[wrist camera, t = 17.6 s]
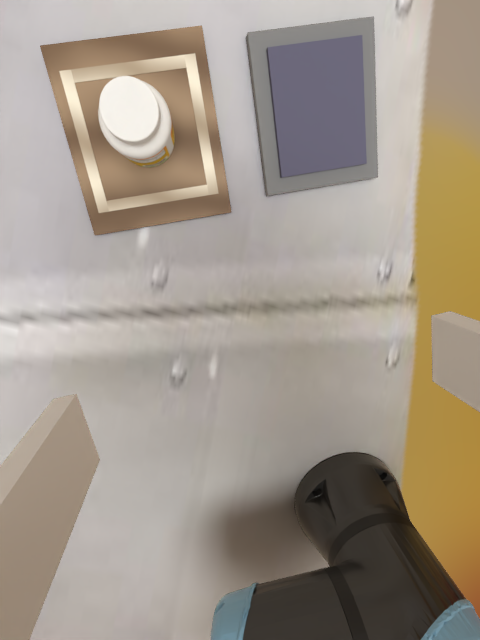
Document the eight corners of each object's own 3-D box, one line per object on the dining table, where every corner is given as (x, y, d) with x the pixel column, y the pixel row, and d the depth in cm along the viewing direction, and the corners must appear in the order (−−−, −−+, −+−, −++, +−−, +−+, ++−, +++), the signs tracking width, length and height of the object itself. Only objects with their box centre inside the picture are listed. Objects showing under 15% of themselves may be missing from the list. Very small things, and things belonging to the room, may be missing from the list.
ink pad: (373, 178, 37) (380, 176, 36) (265, 196, 36) (269, 195, 35) (368, 22, 33) (377, 13, 31) (246, 37, 32) (248, 29, 30)
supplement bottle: (130, 92, 31) (106, 43, 22) (184, 125, 33) (182, 93, 24) (107, 148, 32) (74, 125, 23) (160, 179, 34) (149, 167, 25)
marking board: (230, 212, 36) (231, 212, 36) (96, 234, 35) (94, 235, 34) (201, 30, 31) (201, 25, 30) (43, 49, 30) (39, 45, 29)
